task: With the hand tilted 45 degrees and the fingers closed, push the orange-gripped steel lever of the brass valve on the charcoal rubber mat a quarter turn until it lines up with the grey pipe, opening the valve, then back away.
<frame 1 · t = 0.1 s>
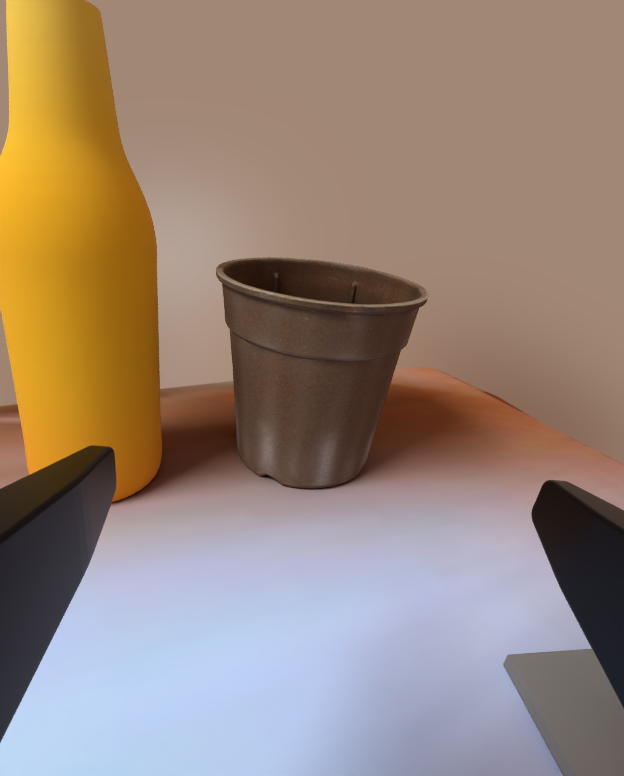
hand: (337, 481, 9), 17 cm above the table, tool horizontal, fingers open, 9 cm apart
plant pot: (300, 452, 40), on the table
yellow bottle: (100, 472, 34), on the table
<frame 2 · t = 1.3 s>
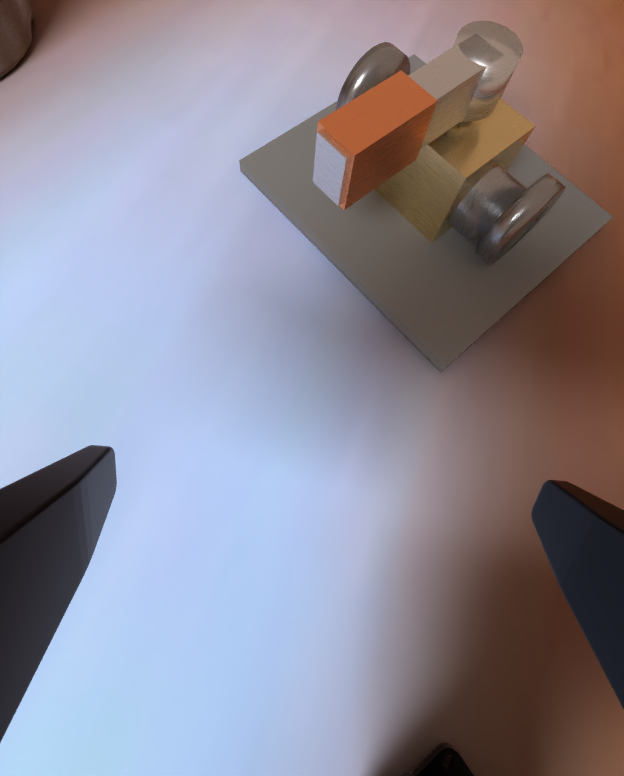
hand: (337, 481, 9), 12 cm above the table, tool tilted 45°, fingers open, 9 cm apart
valve lever: (419, 111, 18), point 8 cm above the table, hinge at 90.0°
valve body: (445, 149, 23), on the rubber mat, point 4 cm above the table
rubber mat: (423, 198, 26), on the table
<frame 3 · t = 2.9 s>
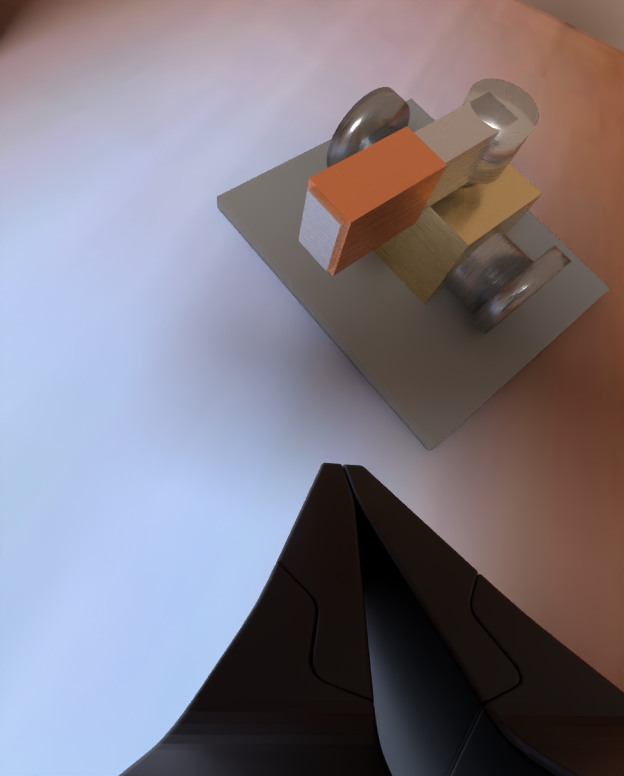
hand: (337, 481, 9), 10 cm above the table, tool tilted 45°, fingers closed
valve lever: (423, 171, 16), point 8 cm above the table, hinge at 90.0°
valve body: (443, 206, 21), on the rubber mat, point 4 cm above the table
rubber mat: (416, 253, 24), on the table
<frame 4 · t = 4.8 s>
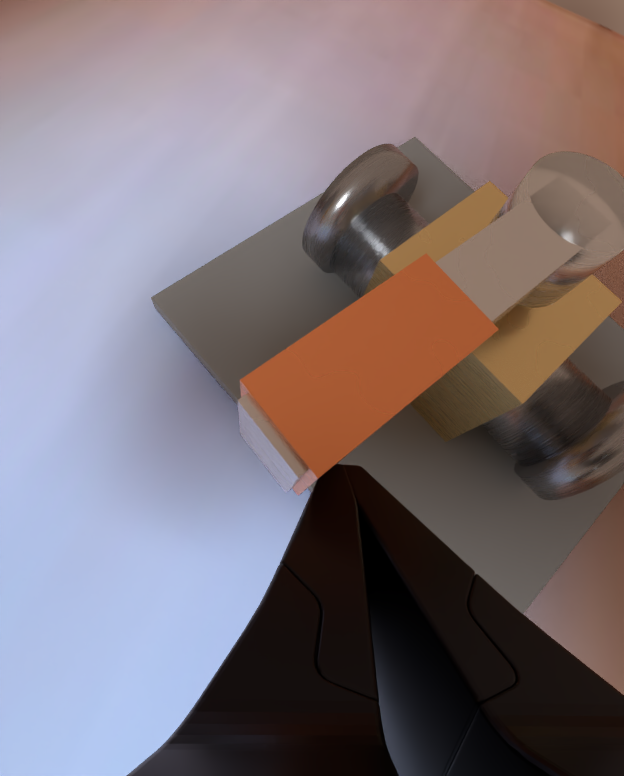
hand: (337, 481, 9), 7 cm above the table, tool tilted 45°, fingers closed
valve lever: (450, 311, 10), point 8 cm above the table, hinge at 87.8°, touching gripper
valve body: (472, 313, 15), on the rubber mat, point 4 cm above the table
rubber mat: (430, 356, 18), on the table
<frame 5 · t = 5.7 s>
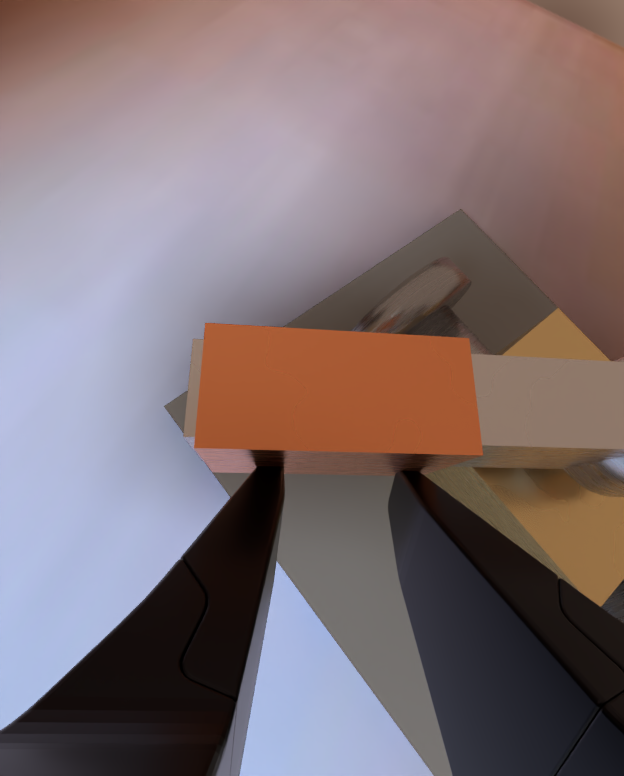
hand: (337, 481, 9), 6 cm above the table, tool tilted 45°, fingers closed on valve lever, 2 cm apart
valve lever: (470, 416, 8), point 8 cm above the table, hinge at 50.8°, touching gripper
valve body: (529, 455, 13), on the rubber mat, point 4 cm above the table
rubber mat: (471, 471, 16), on the table
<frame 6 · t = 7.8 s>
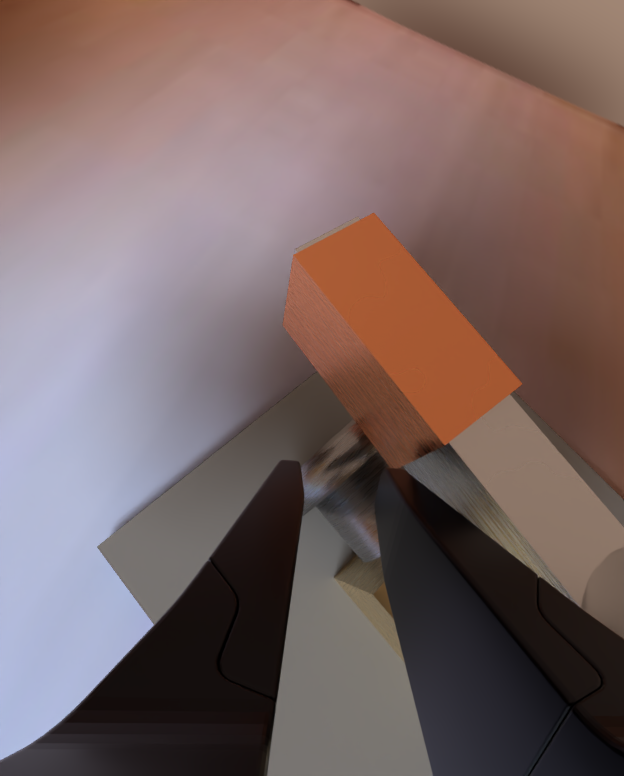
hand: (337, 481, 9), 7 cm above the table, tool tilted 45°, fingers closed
valve lever: (469, 456, 9), point 8 cm above the table, hinge at -5.8°
valve body: (490, 598, 12), on the rubber mat, point 4 cm above the table
rubber mat: (435, 585, 15), on the table
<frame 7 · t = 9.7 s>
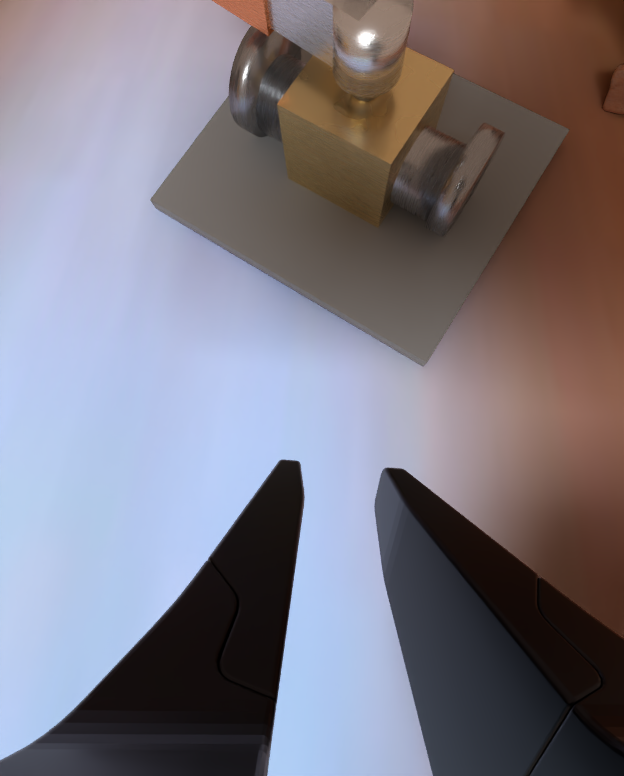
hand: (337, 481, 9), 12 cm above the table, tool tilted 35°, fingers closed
valve body: (362, 123, 20), on the rubber mat, point 4 cm above the table
rubber mat: (357, 174, 24), on the table
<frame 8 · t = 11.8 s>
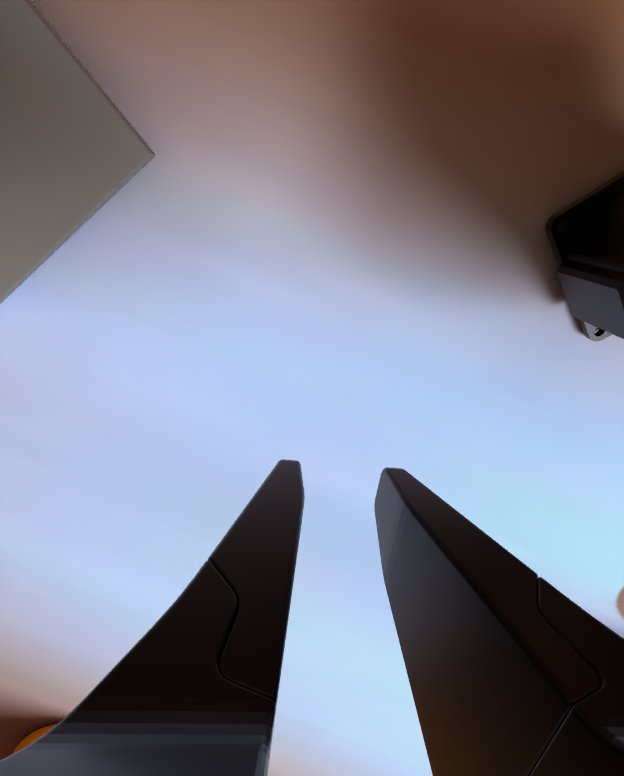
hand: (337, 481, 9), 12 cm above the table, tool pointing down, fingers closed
yellow bottle: (80, 751, 33), on the table
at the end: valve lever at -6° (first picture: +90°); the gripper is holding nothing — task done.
